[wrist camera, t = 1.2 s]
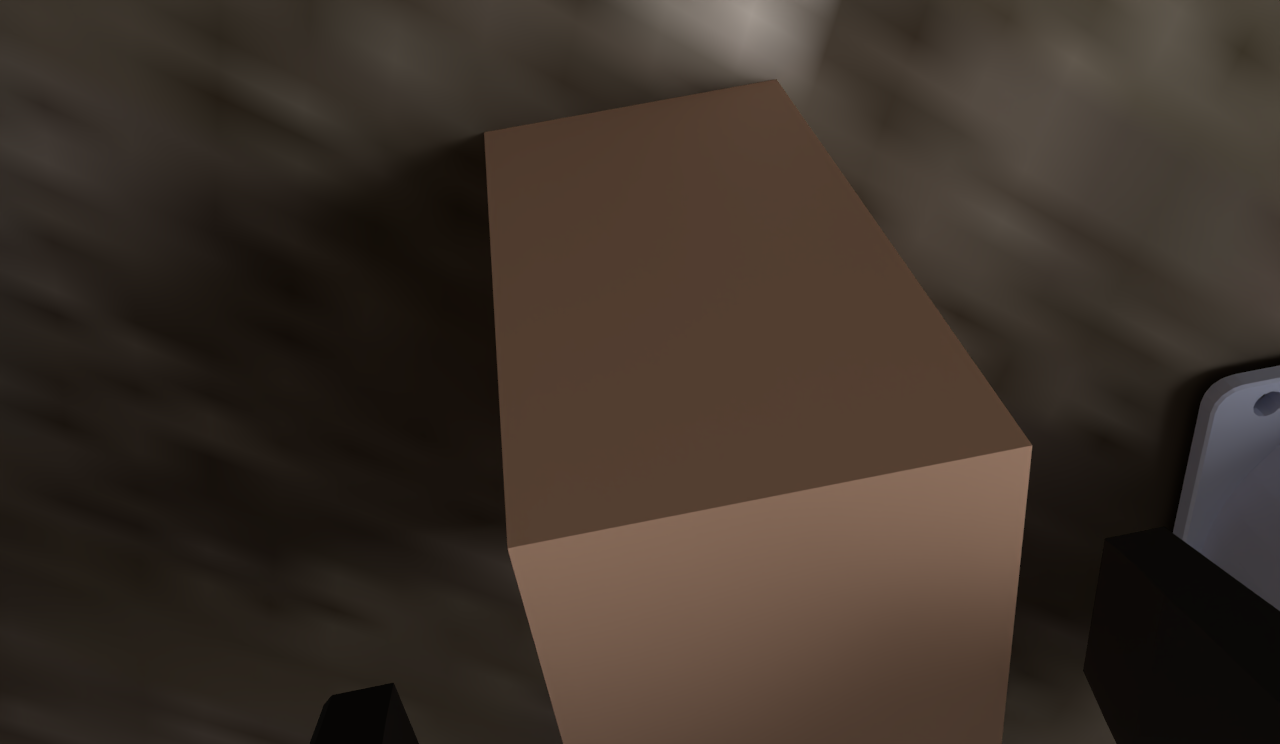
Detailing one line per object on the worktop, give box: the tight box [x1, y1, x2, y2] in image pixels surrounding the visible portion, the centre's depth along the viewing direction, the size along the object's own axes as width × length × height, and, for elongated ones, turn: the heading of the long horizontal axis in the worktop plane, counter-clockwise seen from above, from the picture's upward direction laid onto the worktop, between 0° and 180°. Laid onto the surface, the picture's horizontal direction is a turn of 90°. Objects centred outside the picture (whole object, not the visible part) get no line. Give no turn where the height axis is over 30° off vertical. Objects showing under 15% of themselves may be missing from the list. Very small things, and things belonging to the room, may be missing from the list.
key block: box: [484, 79, 1032, 744], centre depth 13 cm, size 4×7×8 cm, turn 7°
